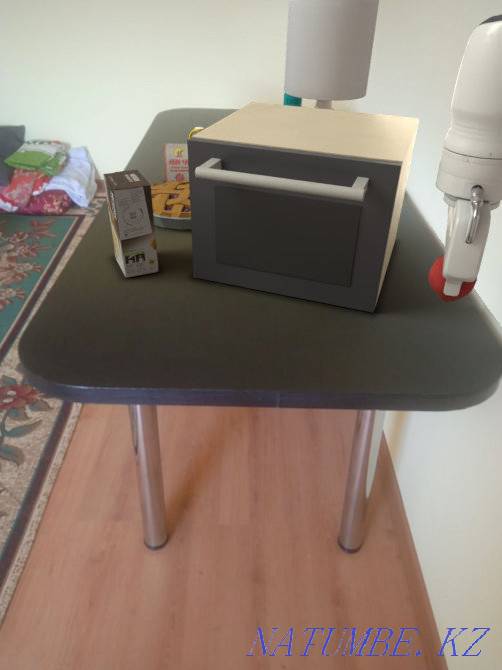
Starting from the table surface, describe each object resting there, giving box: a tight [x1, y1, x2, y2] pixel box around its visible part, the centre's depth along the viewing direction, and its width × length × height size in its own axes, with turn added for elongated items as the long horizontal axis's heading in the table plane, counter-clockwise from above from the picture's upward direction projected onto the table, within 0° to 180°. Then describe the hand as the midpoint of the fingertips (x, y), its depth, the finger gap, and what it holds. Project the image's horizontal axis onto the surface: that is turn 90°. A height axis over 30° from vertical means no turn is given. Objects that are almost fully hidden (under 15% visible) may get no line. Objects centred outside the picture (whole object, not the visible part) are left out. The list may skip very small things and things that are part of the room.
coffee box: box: [102, 169, 159, 278], centre depth 91 cm, size 9×6×16 cm
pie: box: [151, 180, 191, 231], centre depth 115 cm, size 22×22×5 cm
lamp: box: [283, 0, 380, 110], centre depth 136 cm, size 22×22×40 cm
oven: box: [192, 101, 420, 308], centre depth 93 cm, size 28×32×24 cm
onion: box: [428, 254, 478, 303], centre depth 67 cm, size 6×6×8 cm
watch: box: [188, 126, 205, 139], centre depth 158 cm, size 6×3×6 cm, turn 74°
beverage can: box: [282, 92, 303, 107], centre depth 166 cm, size 6×6×15 cm
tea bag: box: [163, 143, 189, 183], centre depth 129 cm, size 4×7×10 cm, turn 92°
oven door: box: [186, 138, 403, 314], centre depth 79 cm, size 7×32×24 cm, turn 70°
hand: (451, 279), depth 67 cm, fingers closed on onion, 6 cm apart
